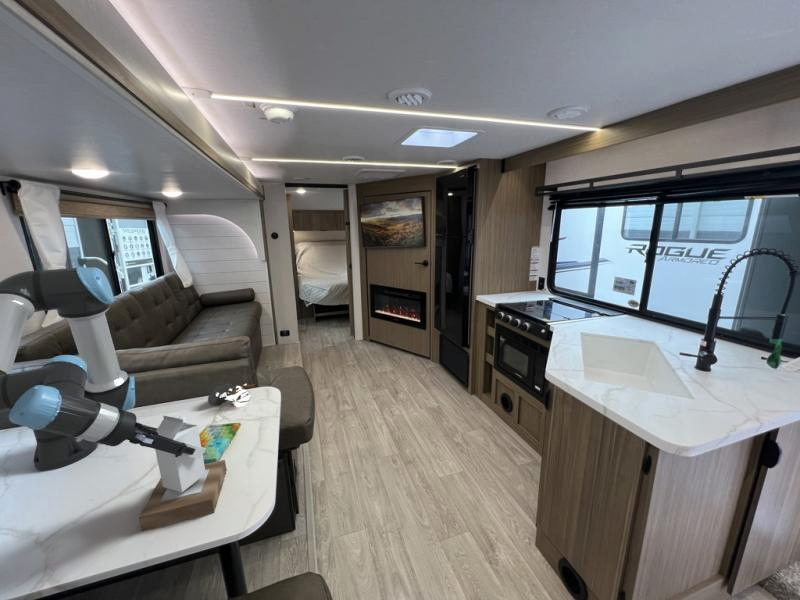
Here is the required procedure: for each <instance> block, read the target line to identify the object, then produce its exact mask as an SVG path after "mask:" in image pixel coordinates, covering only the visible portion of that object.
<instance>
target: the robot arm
mask: <svg viewBox="0 0 800 600" xmlns="http://www.w3.org/2000/svg"><path fill="white" fill-rule="evenodd" d="M114 299H115V298H114V293H113V291H112V286H111V284H110V281H109V280H108V277H107V276H106V273H104V271H103V270H101V269H100V268H98V267H80V266H78V267H71V268H69V267H68V268H59V269H56V268H55V269H44V270H28V271H23V272H22V271H21V272H19V273H16V274H13V275H11V276H9V277H6V278H3V280H1V281H0V413H3V412H7V411H9V414H8V419H9V421H10V422H11V423H12V424H15V425H19V426H23V427H25V428H28V429H30V430H32V431H33V434H34V439H35V441H36V445H35V451H34V455H33V466H34V469H36V470H37V471H51V470H56V469H60V468H63V467H66V466H69V465H71V464H73V463H76V462H78V461H81V460H82V459H84V458H85V457H88V456H89V455H90V454H92V453H93V452H94V451H95V450H96V449H97V448H98V446H99V444H101V445H105V446H109V447H117V446H120V445H121V444H122V443H123V442H125V441H128V442H129V443H130V444H134V445H139V446H141V447H145V448H150V449H154V450H155V449H157V450H161V451H164V452H168V453H171V454H175V457H178V456H181V455H185V456H189V457H193V458H197V459H200V458H201V457H202V455H203V453H204V452H205V450H206V448H203V447H199V446H196V445H192V444H189V443H185V442H183V443H181V442H178V441H175V440H172V439H170V438H167V437H164V436H161V435H158V432H157V431H156V430H157V429H158V427H153V426H148V425H146V424H143V423H141V422H138V421H137V415H136V414H135V413H134V412H132V411H131V412H130V411H129V410H131V409H133V408H134V407H135V405H136V389H135V388H136V387H135V386H136V385H135V384H136V383H135V377H134V376H133V375H132V376H131V375H130V376H129V375H128V373H127V372H126V371H124V370H122V369H121V367H120V364H119V359H118V356H117V353H116V349H115V345H114V343H113V338H112V335H111V331H110V327H109V324H108V319H107V316H106V312H107V311H109V309H110V305H111V304H112V303H114ZM45 311H46V312H47V311H57V315H58V316H59V318H61V319H65V320H67V321H68V326H69V327H70V331H71V334H72V337H73V340H74V343H75V346H76V349H77V352H78V354H79V356H78V355H77V356H76V355H72V354H63V355H62V354H61V355H57V356H54V357H52V358H50V359H48V360H46V361H45V363H44V364H42V366H41V367H40V368H33V369H28V370H22V371H18V372H12V370H13V366H14V363H15V359H16V357H17V354H18V353H17V352H18V349H19V346H20V343H21V340H22V336H23V332H24V329H25V325H26V323H27V321H28V320H29V319H31V318H32V317H33V316H34V314H35V313H38V312H45Z"/></svg>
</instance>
